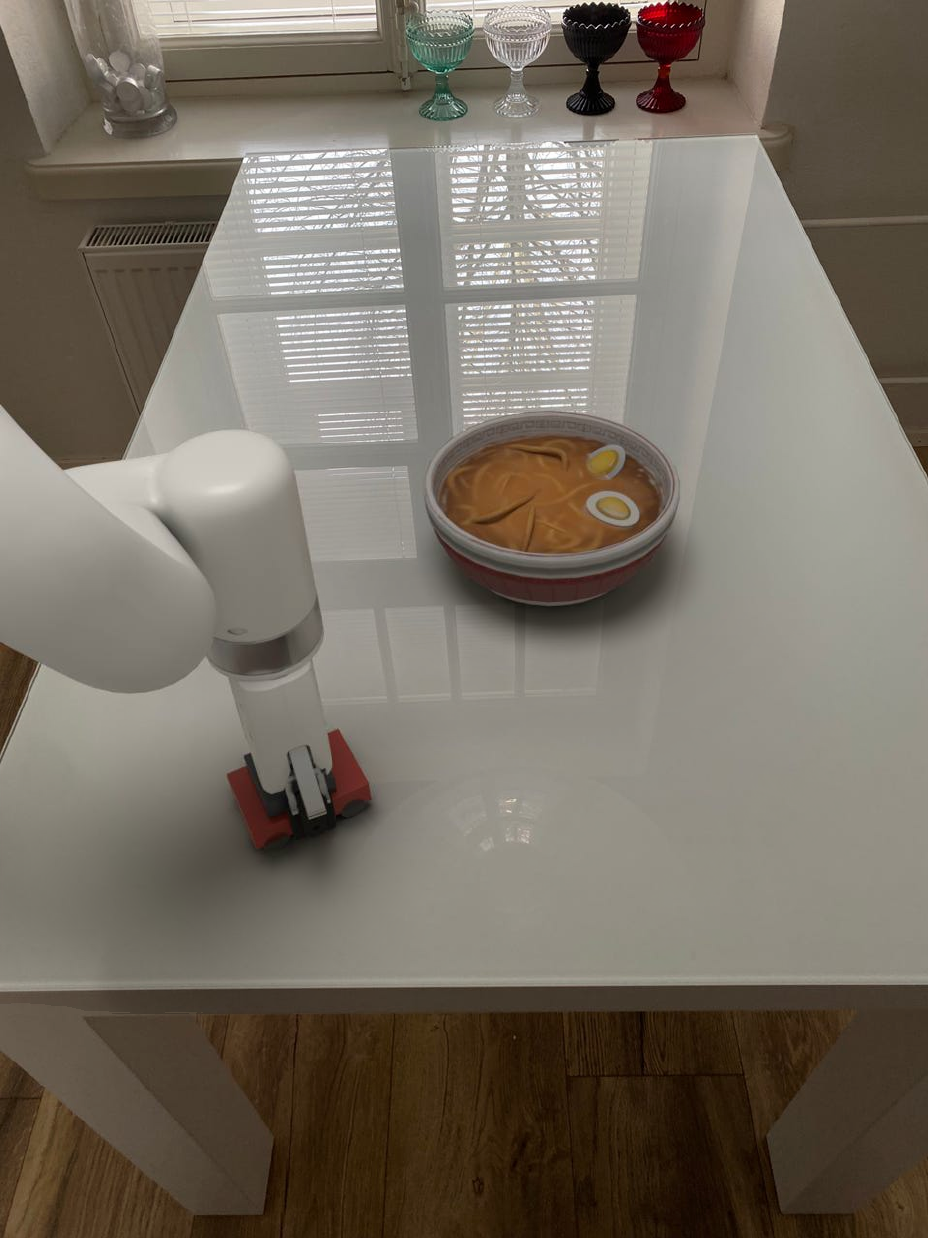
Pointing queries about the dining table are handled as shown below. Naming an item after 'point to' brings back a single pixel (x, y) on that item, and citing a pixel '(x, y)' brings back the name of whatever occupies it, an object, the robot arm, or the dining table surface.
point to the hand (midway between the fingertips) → (302, 793)
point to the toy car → (269, 810)
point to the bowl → (551, 504)
